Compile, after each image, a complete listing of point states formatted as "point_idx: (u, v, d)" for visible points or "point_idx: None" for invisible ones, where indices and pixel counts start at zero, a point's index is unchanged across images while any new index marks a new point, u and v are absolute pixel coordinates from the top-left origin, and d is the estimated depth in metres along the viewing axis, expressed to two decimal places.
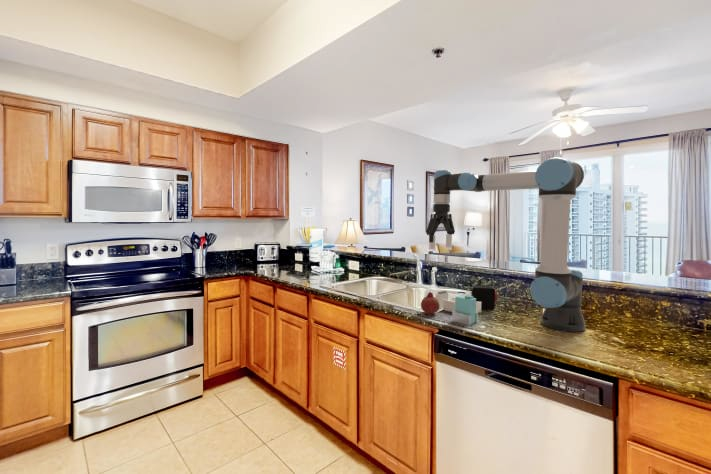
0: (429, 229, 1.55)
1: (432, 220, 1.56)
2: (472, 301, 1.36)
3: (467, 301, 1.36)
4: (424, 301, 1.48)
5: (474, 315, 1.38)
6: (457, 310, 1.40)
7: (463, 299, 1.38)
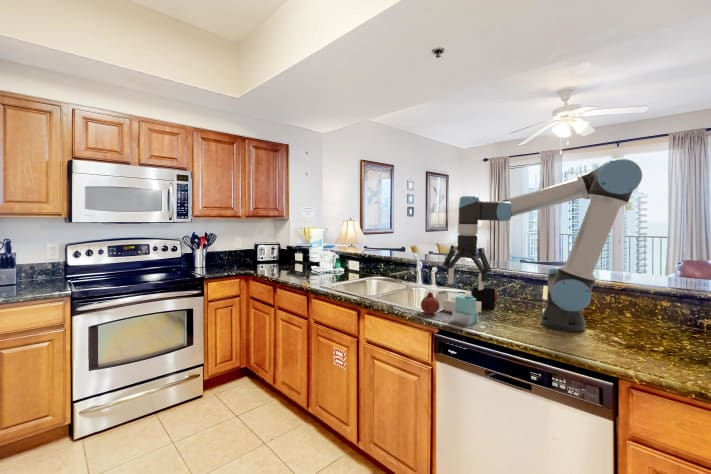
0: None
1: None
2: (472, 301, 1.36)
3: (467, 301, 1.36)
4: (424, 301, 1.48)
5: (474, 315, 1.38)
6: (457, 310, 1.40)
7: (463, 299, 1.38)
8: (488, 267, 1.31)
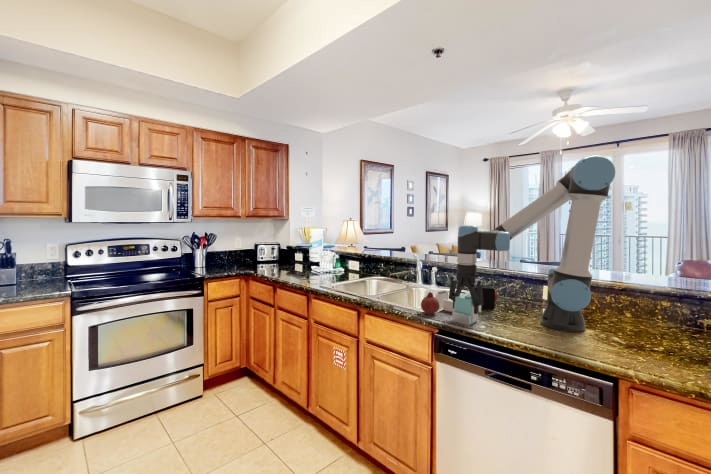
0: None
1: None
2: (472, 301, 1.36)
3: (467, 301, 1.36)
4: (424, 301, 1.48)
5: None
6: (457, 310, 1.40)
7: (463, 299, 1.38)
8: (481, 300, 1.34)
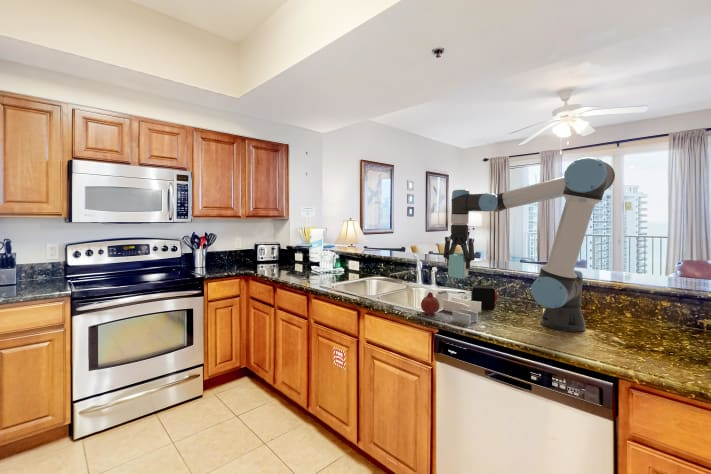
0: None
1: None
2: (464, 257, 1.51)
3: (460, 258, 1.51)
4: (424, 301, 1.48)
5: None
6: (451, 267, 1.55)
7: (456, 256, 1.53)
8: (472, 256, 1.49)
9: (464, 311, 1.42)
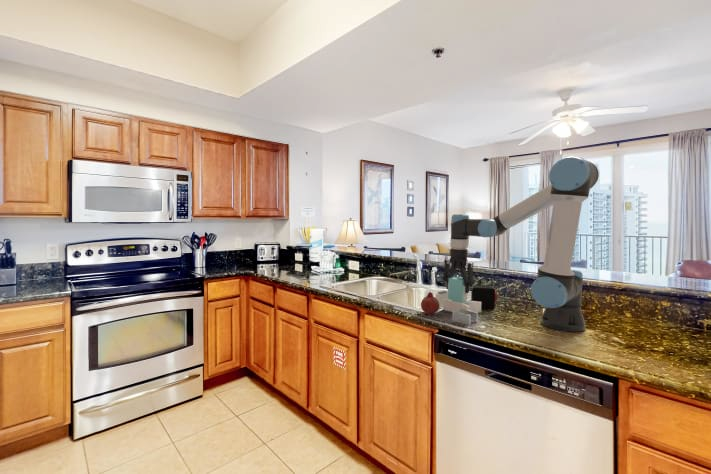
0: None
1: None
2: (463, 282, 1.52)
3: (459, 282, 1.52)
4: (424, 301, 1.48)
5: None
6: (450, 290, 1.56)
7: (455, 280, 1.54)
8: (471, 281, 1.50)
9: (464, 311, 1.42)
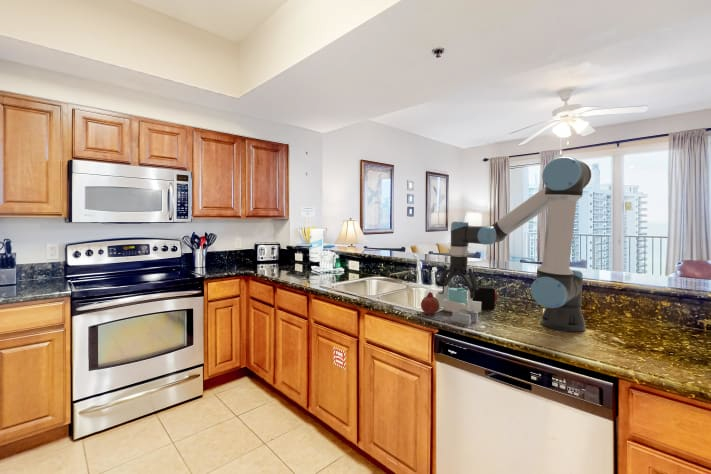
0: None
1: None
2: (463, 293, 1.52)
3: (459, 293, 1.53)
4: (424, 301, 1.48)
5: None
6: None
7: (455, 291, 1.54)
8: (476, 285, 1.48)
9: (464, 311, 1.42)
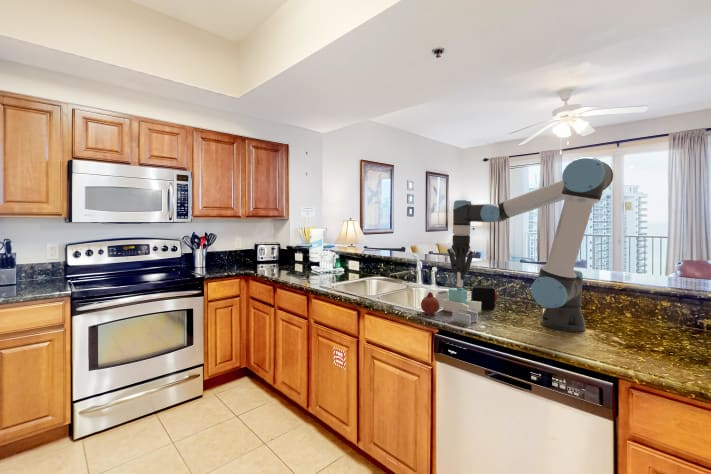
0: None
1: None
2: (463, 293, 1.52)
3: (459, 293, 1.53)
4: (424, 301, 1.48)
5: None
6: None
7: (455, 291, 1.54)
8: (468, 268, 1.51)
9: (464, 311, 1.42)
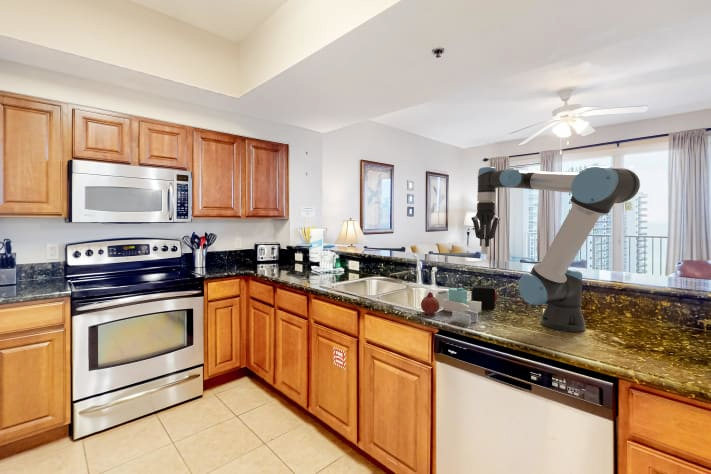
0: None
1: None
2: (463, 293, 1.52)
3: (459, 293, 1.53)
4: (424, 301, 1.48)
5: None
6: None
7: (455, 291, 1.54)
8: (493, 235, 1.52)
9: (464, 311, 1.42)
